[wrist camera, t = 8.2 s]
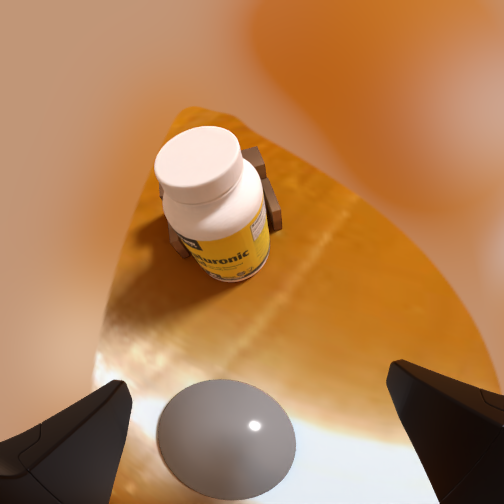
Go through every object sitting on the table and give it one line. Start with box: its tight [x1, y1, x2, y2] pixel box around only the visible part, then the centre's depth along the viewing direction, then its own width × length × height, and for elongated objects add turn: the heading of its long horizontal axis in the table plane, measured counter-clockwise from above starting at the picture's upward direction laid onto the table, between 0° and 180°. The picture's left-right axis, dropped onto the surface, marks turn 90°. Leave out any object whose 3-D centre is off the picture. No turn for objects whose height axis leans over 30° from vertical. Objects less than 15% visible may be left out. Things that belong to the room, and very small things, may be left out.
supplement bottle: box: [154, 126, 270, 282], centre depth 16 cm, size 5×5×10 cm
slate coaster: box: [158, 379, 296, 500], centre depth 14 cm, size 9×9×1 cm
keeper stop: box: [159, 146, 282, 258], centre depth 20 cm, size 5×8×4 cm, turn 105°
